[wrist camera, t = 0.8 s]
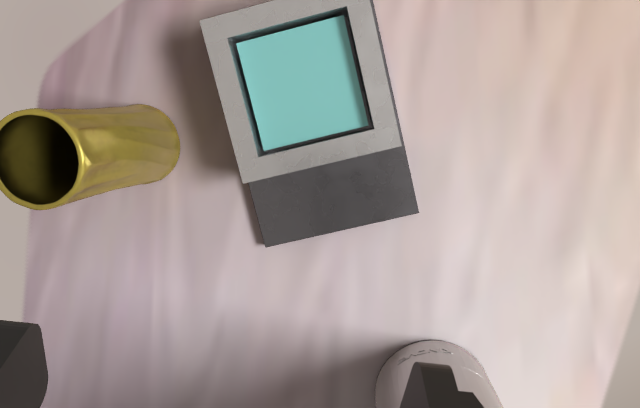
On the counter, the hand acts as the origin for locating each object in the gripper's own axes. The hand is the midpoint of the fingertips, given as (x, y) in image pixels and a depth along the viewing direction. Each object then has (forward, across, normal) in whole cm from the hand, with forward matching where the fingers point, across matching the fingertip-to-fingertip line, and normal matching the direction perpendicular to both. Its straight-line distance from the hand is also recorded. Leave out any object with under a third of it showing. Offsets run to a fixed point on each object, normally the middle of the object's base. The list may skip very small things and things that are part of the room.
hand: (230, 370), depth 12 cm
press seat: (+28, +1, -2) cm, 28 cm away
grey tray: (+30, +2, -5) cm, 30 cm away
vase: (+30, -11, -9) cm, 33 cm away
